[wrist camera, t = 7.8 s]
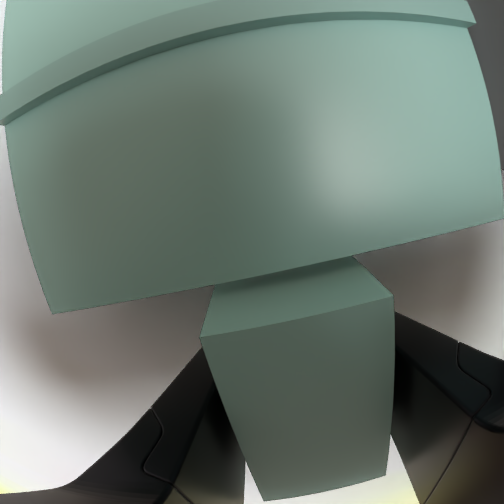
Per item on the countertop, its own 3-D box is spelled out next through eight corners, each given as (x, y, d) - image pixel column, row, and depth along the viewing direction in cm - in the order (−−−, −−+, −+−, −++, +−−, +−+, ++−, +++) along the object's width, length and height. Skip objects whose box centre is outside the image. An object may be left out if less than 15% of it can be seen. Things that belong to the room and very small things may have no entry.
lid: (460, 366, 8) (506, 420, 6) (149, 432, 9) (126, 500, 6) (322, -144, 3) (334, -188, 1) (50, -84, 4) (16, -116, 1)
